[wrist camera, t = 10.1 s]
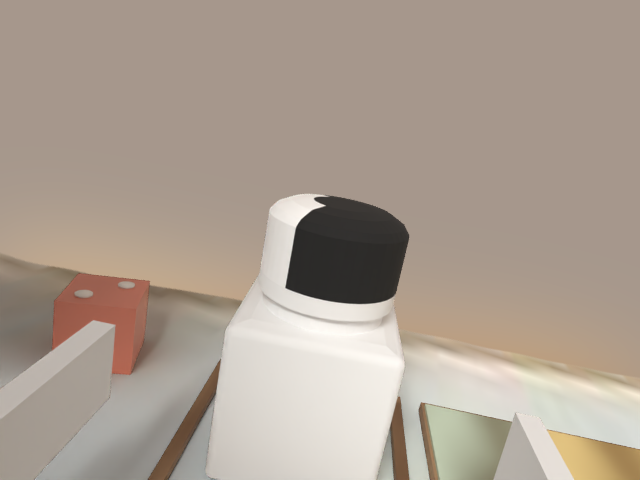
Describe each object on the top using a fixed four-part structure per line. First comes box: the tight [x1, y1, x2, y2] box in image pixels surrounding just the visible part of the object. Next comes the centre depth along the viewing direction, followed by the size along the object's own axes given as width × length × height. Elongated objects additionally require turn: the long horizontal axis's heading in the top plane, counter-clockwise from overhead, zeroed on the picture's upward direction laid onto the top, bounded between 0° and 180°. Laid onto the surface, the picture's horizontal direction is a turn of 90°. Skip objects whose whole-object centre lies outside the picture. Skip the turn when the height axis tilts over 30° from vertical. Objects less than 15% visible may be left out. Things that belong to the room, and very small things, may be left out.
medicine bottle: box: [205, 194, 409, 480], centre depth 23 cm, size 7×7×12 cm
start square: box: [148, 359, 409, 480], centre depth 24 cm, size 11×11×1 cm
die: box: [52, 273, 150, 375], centre depth 28 cm, size 4×4×4 cm
